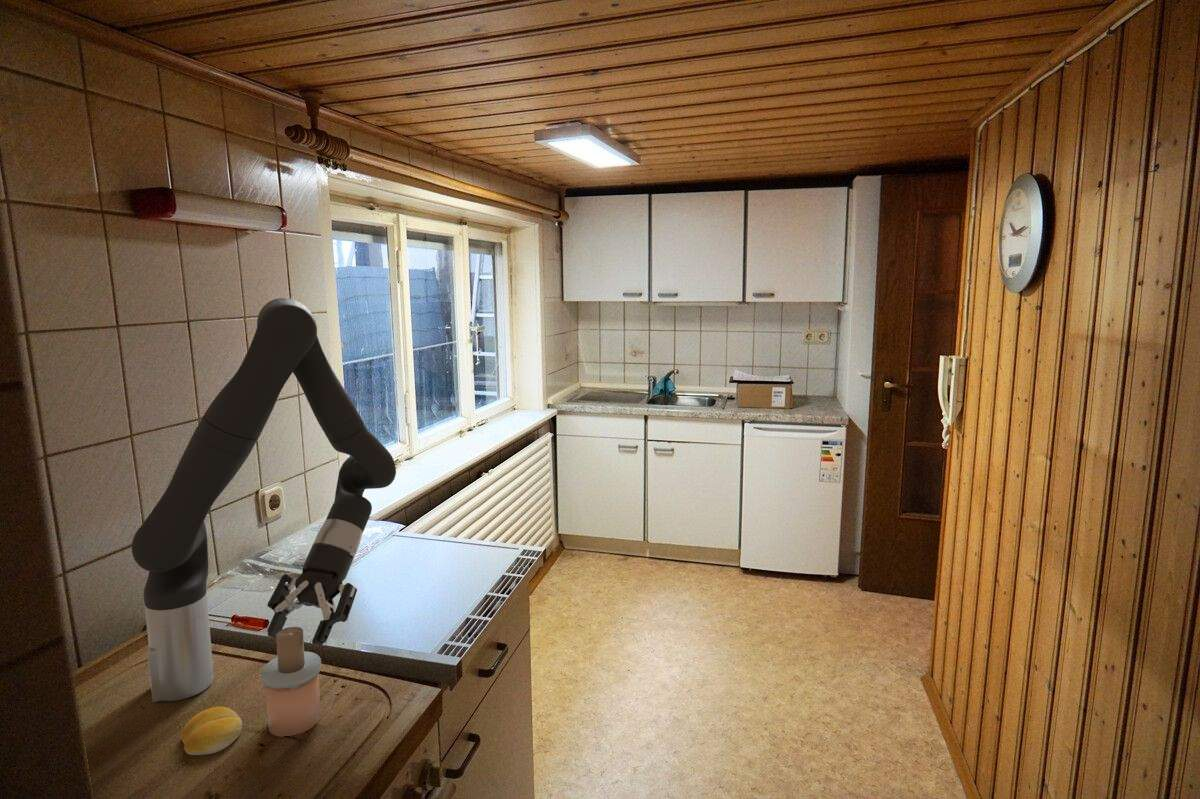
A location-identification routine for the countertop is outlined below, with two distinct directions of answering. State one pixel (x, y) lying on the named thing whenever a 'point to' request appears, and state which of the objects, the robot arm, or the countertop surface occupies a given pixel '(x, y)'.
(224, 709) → the bread roll
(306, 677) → the lid
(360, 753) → the countertop surface
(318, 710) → the canister
